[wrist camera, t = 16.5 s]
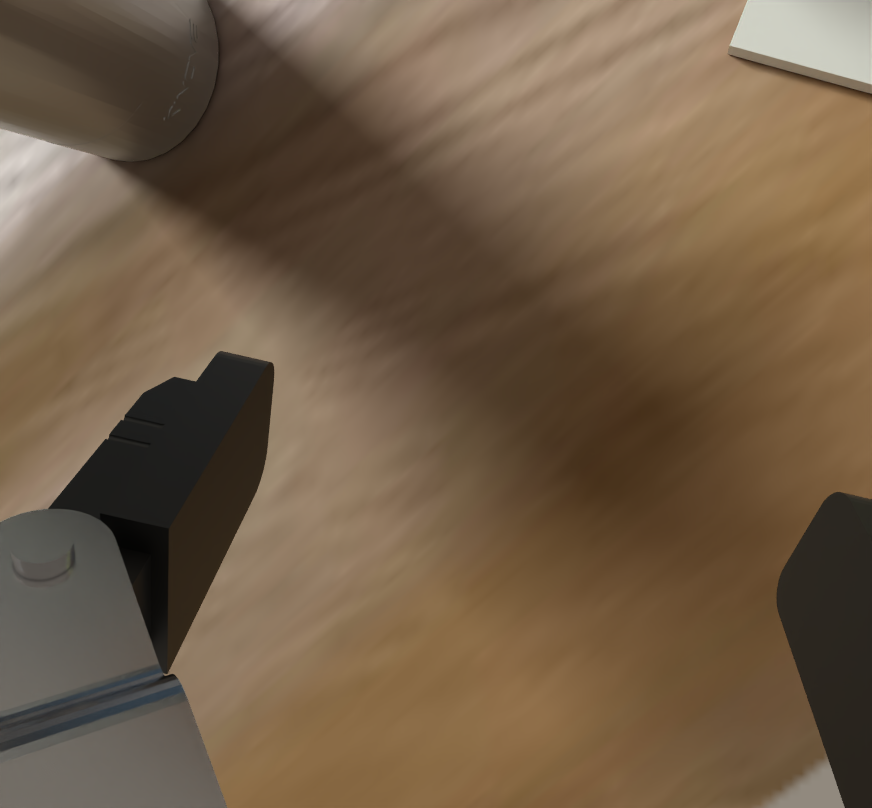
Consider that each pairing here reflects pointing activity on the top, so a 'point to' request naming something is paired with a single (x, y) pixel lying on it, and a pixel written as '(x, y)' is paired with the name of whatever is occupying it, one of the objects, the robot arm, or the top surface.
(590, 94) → the top surface
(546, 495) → the top surface
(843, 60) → the socket
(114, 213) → the top surface
